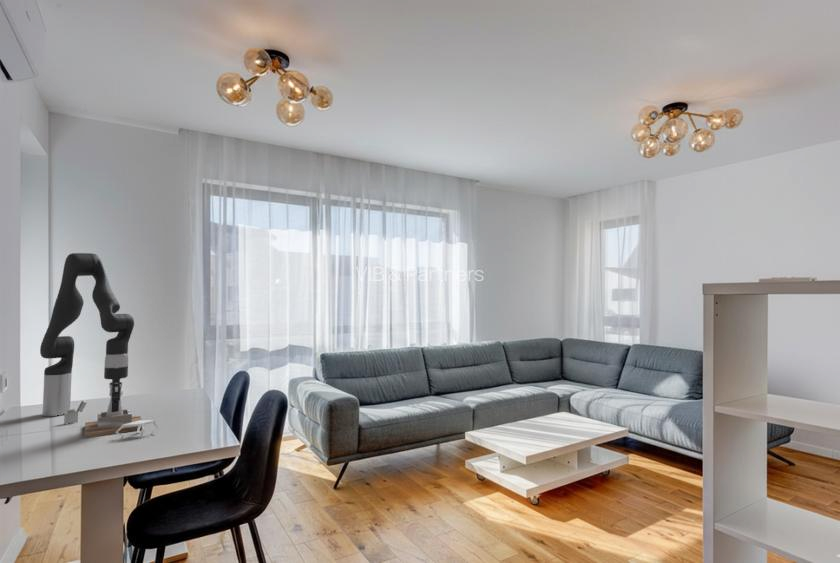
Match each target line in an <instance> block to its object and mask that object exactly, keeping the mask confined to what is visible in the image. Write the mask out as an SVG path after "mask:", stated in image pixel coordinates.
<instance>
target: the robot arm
mask: <svg viewBox="0 0 840 563" xmlns="http://www.w3.org/2000/svg"><path fill="white" fill-rule="evenodd" d="M84 276H85V277H86V276H87V277H88V276H89V277H90V276H92V277H93V278H94V280H95V284H94V287H93V290H92V294H91V295H92V301H93V302H94V304H95V306H96V308H97V310H98V312H99V317H100V318H99V319H100V326H101V328H102V330H103V331H105V332H107V333H117V335H116V336H114V337H113V338H112V337H111V338H109V339H107V341H106V343H105V357H104V368H103V369H104V372H103V375H104V376H103V379H105V380H111V382H109V385H108V386H109V387H108V388H109V393H110V395H109V397H111V396H112V399H111V398H110V399H111V401H112V412H118V411H119V401H120V395H121V390H122V387H123V382H122V381H121V379H126V378H127V377H128V374H129V341H130V339H131V335H132V333H133V330H134V327H135V320H134V317H133V316H132V315H131V314H129V313H117V312H119V311H120V309H121V305H120V303H119V301H118V299H117V297H116V295H115V294H114V292H113V291H112V289H111V286H110V283H109V279H108V276H107V273H106V270H105V268H104V265H103V262H102V260H101V257H99V255H98V254H96V253H90V252H89V253H87V252H86V253H83V252H73V253H69V254H68V255H67V257H66V258H65V260H64V266H63V270H62V277H61V282H60V286H59V290H58V293H57V296H56V299H55V302H54V305H53V310H52V313H51V317H50V321H49V323H48V327H47V329H46V332H45V334H44V335H43V338H42V340H41V344H40V349H39V350H40V352H39V353H40V356H41V357H42V359H60V360H59V361H58V362H56V363H55V364H51V365H49V366H47V367H45V368H44V373H43V375H44V376H43V393H42V411H41V412H42V413H41V414H42V416H43V417H56V416H57V415H59V416H62V415H63V414H64V413H67V411H68V410H71V401H72V400H71V398H72V377H73V376H72V375H73V365H74V354H75V353H74V352H75V339H74V338H73V337H72V336H69V335H68V336H67V335H64V336H62V335H61V336H60V334H62V332H63V331H64V330H65V329H67V328H68V327H70V325H72V324H73V323H74V322H76V320H78V318H79V317H81V316H80V315H81V312H82V310H83V307H84V299H83V296H82V294H81V293H80V291H79V290H78V287H77V286H76V285H77V284H76V282H77V280H78V277H84ZM114 396H118V398H114ZM42 416H41V417H42ZM63 416H64V415H63ZM57 417H58V416H57Z"/></svg>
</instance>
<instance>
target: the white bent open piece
mask: <svg viewBox="0 0 840 563" xmlns="http://www.w3.org/2000/svg"><path fill="white" fill-rule="evenodd" d="M149 424H152V425H153V426H154V428H155V429H154V430H153V431H151V433H152V435H155V433H154V432H156V431H157V430H159V428H158V424H157V420H155V419H154V420H153V419H151V420H147V419H146V420H144V419H141V420H139V421H135V422H131V423H127V424H123V425H121V427H120V428H119V429H118V430H117V431H116V432H115V433H116V434H117V435H119V436H120V439H123V438H124V437H125V436H124V435H123V434H121V433H118V431H120V430H121V429H122V428H123V427H130V426H138V428H137V431H136V433H137V434H140V437H141V438H143V437H144V433H145V425H149ZM141 426H142V430H140V427H141Z"/></svg>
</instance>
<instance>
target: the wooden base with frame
mask: <svg viewBox="0 0 840 563" xmlns="http://www.w3.org/2000/svg"><path fill="white" fill-rule="evenodd" d="M106 414H107V411H102V412H101V411H100V412H97V420H95V421H88V422H85V423H84V439H87V438H94V437H95V438H96V437H100V436H106V435H109V436H110V435H113V434H117V433H115V432H116V431H117V430H118V429H119V428H120V427H121V425H123V424H127V423H131V422H135V421H139V420H142V418H141V416H140V415H137V416H135V415H134V416H133V413H132V412H131V409H130V408H126V409H123V415H117V416H109V417H106ZM137 428H138V426H130V427H123V428H122V429H121V430H120V431H118V433H119V434H121V433H122V434H123V433H130V432H136V431H135V430H137ZM129 431H130V432H129ZM139 431H142V426H141V427H140V430H139Z"/></svg>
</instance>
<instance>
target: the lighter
mask: <svg viewBox="0 0 840 563" xmlns="http://www.w3.org/2000/svg"><path fill="white" fill-rule="evenodd" d="M87 404H88V402H87V401H84V400H81V402H80V404H79V406H78V407H77V408H76V409H74V408H73V409H70V410H68V411H67V413H64V415H63V416H64V417H63V424H64V423H65V424H66V425H68V424H67V423H71V424H74V423H73V422H77V423H78V422H79V412H80V413H82V412H83V411H84V410H85V407H86V405H87ZM65 424H64V425H65Z"/></svg>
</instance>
